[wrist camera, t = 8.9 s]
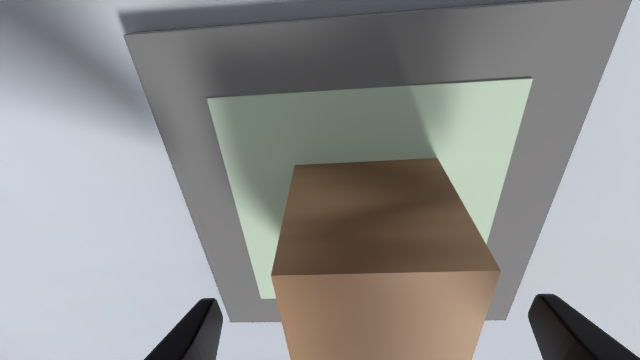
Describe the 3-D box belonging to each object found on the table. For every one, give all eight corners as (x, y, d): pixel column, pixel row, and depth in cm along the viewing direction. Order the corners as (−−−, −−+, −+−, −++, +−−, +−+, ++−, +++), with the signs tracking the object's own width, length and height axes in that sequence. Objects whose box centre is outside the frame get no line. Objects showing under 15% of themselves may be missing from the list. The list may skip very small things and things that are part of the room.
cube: (437, 158, 11) (500, 270, 7) (423, 260, 14) (462, 386, 9) (294, 164, 11) (270, 275, 7) (308, 262, 14) (296, 385, 10)
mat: (616, -6, 9) (636, -5, 8) (500, 309, 16) (506, 321, 16) (134, 32, 10) (122, 35, 9) (233, 312, 17) (230, 323, 17)
